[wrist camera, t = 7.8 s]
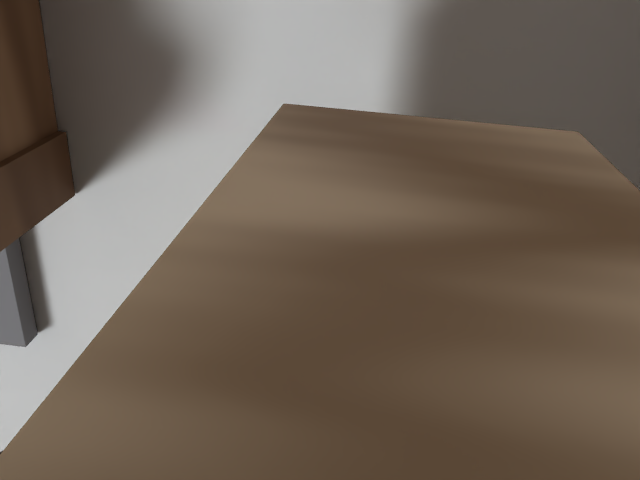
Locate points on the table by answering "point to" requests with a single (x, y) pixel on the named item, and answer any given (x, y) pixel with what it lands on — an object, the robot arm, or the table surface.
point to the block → (371, 318)
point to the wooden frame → (28, 126)
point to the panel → (15, 299)
